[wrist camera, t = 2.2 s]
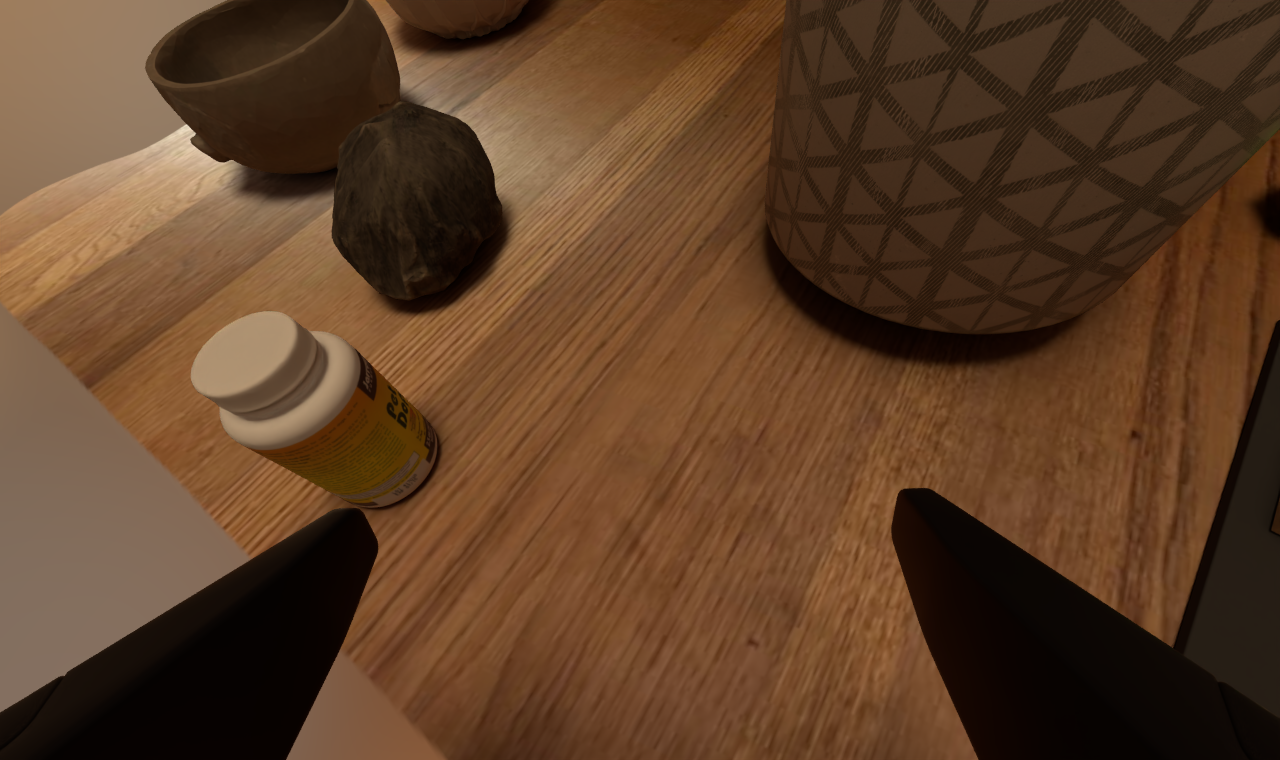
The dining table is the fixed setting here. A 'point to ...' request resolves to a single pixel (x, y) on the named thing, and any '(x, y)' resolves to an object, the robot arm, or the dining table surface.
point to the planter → (1006, 146)
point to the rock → (413, 200)
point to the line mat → (1244, 561)
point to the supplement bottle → (315, 408)
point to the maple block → (1277, 520)
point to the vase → (458, 15)
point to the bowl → (277, 79)
